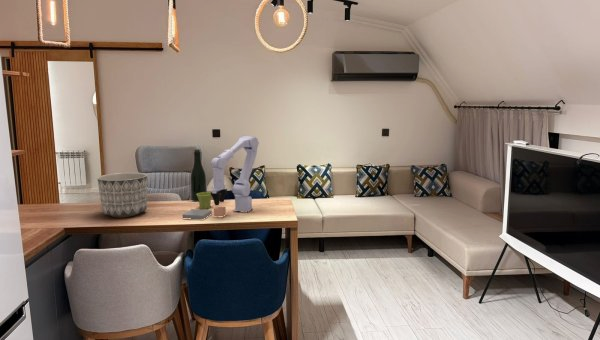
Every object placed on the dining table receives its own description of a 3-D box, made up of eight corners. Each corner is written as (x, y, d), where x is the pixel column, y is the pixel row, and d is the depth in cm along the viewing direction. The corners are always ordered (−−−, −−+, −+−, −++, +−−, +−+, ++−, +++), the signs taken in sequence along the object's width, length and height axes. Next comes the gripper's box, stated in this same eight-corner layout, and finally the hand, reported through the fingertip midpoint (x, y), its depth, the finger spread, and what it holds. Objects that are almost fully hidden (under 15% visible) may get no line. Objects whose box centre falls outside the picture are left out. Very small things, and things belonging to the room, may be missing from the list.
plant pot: (194, 209, 262) (193, 194, 261) (202, 205, 271) (201, 191, 270) (208, 210, 260) (207, 195, 258) (215, 206, 268) (215, 192, 267)
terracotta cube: (225, 215, 248) (225, 206, 247) (222, 217, 243) (222, 209, 242) (217, 215, 249) (217, 206, 248) (214, 217, 244) (213, 208, 243)
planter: (101, 210, 259) (98, 174, 255) (148, 206, 268) (146, 171, 264) (98, 222, 235) (95, 181, 231) (150, 217, 244) (148, 178, 240)
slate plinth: (211, 215, 250) (211, 210, 250) (203, 221, 238) (203, 215, 238) (192, 214, 252) (191, 209, 252) (182, 219, 241) (182, 214, 240)
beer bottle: (188, 201, 281) (186, 150, 276) (193, 198, 291) (190, 148, 286) (205, 201, 281) (203, 150, 276) (208, 198, 291) (207, 148, 286)
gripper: (216, 177, 250) (217, 200, 253) (206, 181, 236) (207, 206, 238) (228, 177, 249) (229, 200, 251) (219, 182, 235) (219, 206, 237)
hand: (219, 203), depth 245 cm, fingers open, 7 cm apart
